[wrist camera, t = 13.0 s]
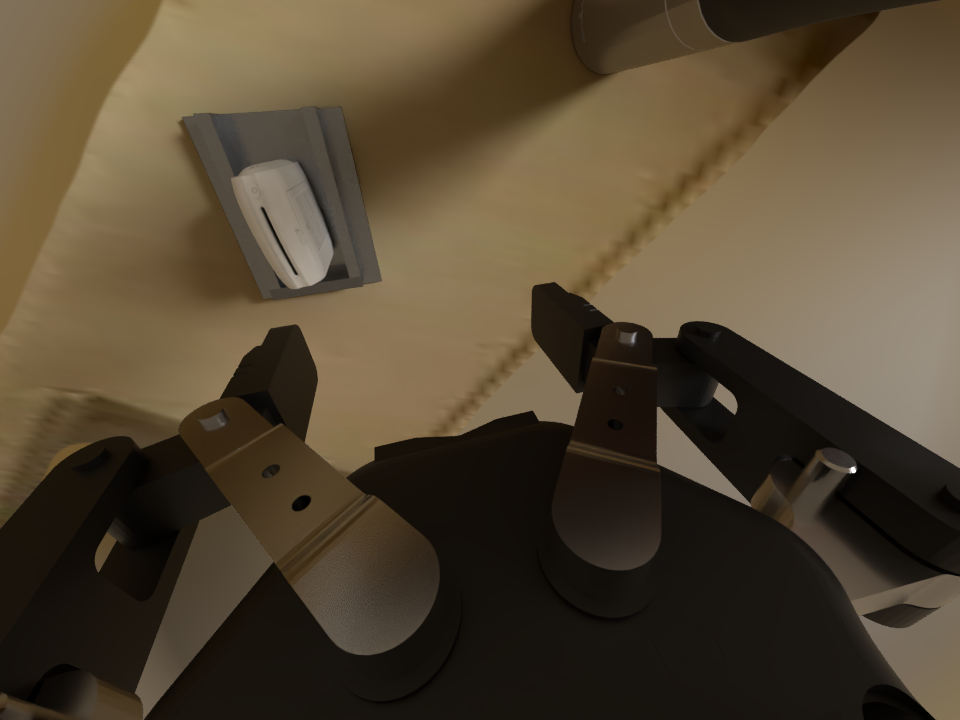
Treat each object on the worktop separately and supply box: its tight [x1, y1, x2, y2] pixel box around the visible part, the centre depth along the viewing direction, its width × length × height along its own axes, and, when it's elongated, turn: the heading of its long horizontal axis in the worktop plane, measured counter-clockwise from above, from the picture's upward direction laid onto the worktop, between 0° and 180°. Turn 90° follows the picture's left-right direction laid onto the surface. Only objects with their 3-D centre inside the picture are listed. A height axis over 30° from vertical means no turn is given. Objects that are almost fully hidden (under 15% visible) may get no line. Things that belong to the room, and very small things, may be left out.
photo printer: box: [231, 159, 334, 289], centre depth 33 cm, size 10×4×12 cm, turn 10°
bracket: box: [182, 106, 382, 300], centre depth 37 cm, size 14×18×4 cm
